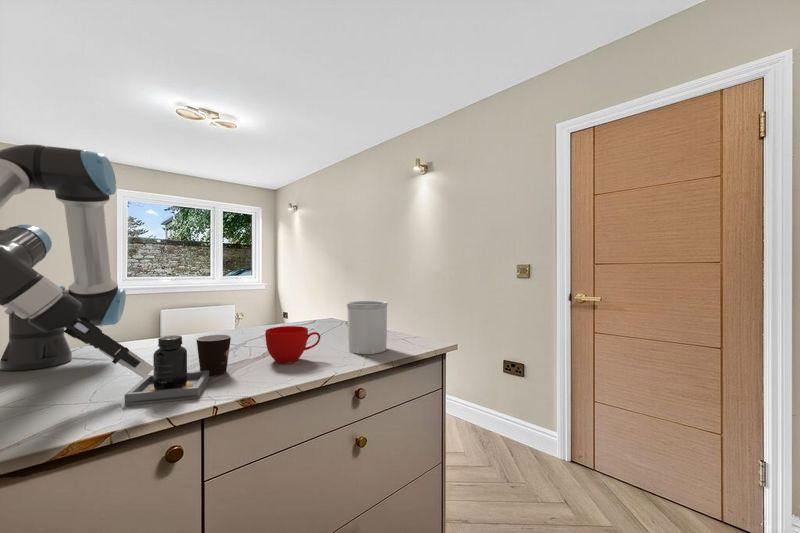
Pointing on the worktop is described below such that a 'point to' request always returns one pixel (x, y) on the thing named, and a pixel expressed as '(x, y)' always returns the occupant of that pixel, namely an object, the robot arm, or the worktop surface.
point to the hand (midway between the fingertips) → (138, 366)
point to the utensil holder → (367, 326)
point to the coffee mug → (213, 353)
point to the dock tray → (167, 390)
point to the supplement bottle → (170, 364)
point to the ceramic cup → (288, 342)
